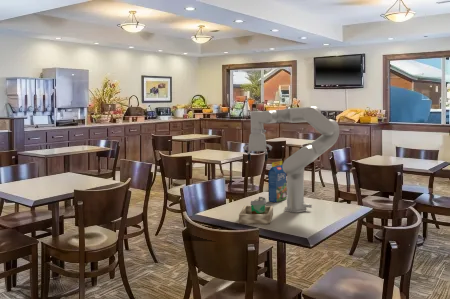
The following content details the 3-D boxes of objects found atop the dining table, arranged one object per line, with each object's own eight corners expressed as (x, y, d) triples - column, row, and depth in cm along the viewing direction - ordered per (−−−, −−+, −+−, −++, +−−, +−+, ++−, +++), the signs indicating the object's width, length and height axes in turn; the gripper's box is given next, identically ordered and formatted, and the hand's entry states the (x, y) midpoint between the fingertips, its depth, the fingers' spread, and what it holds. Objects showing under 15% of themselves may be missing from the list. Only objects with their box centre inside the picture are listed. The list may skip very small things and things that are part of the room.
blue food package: (268, 201, 276) (267, 162, 273) (278, 198, 285) (278, 160, 282) (276, 202, 272) (276, 163, 269) (286, 199, 281) (286, 160, 278)
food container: (261, 220, 227) (261, 202, 226) (250, 219, 229) (250, 201, 228) (270, 215, 237) (269, 197, 236) (259, 214, 240) (259, 196, 239)
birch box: (273, 214, 242) (272, 206, 242) (269, 224, 223) (269, 215, 222) (244, 214, 245) (244, 205, 245) (239, 223, 226) (239, 214, 225)
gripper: (272, 131, 258) (272, 159, 260) (243, 131, 261) (244, 159, 263) (271, 132, 251) (271, 161, 253) (241, 132, 254) (242, 161, 256)
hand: (257, 160), depth 258 cm, fingers open, 9 cm apart
